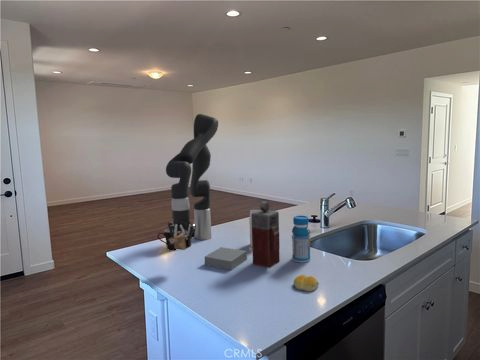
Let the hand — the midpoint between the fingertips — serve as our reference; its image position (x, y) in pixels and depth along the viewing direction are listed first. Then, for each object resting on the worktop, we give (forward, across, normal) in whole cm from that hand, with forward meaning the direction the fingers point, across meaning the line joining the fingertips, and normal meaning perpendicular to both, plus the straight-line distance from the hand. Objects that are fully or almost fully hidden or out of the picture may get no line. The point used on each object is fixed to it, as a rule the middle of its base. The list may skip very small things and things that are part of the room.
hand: (182, 246), depth 142 cm
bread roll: (+11, +53, +7) cm, 54 cm away
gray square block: (+11, +12, +15) cm, 22 cm away
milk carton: (+11, +15, +42) cm, 46 cm away
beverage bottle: (+11, +42, +32) cm, 54 cm away
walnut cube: (+1, 0, 0) cm, 1 cm away
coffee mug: (+11, -25, +20) cm, 34 cm away
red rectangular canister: (+11, +30, +22) cm, 39 cm away
